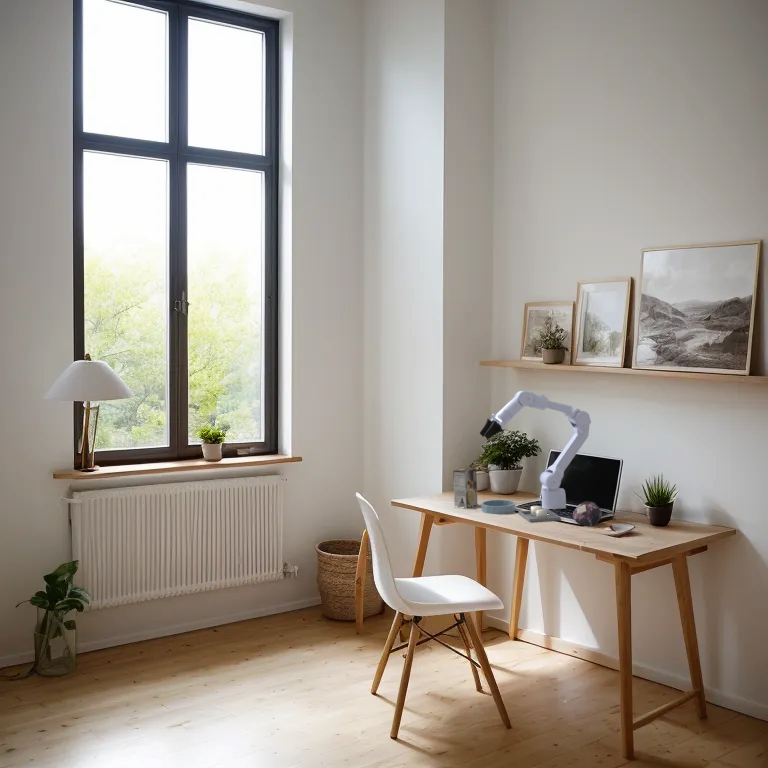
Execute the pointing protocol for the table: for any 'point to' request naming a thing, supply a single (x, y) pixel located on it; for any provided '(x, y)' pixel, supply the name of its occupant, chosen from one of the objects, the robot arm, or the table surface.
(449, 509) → the table surface
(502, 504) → the bowl
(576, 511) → the mineral specimen
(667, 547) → the table surface
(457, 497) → the coffee box
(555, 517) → the parts tray
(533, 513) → the light pebble
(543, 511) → the cream rounded piece
